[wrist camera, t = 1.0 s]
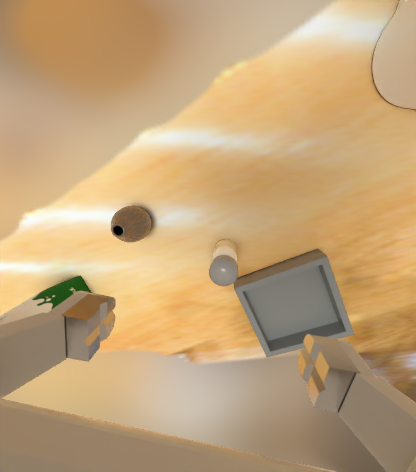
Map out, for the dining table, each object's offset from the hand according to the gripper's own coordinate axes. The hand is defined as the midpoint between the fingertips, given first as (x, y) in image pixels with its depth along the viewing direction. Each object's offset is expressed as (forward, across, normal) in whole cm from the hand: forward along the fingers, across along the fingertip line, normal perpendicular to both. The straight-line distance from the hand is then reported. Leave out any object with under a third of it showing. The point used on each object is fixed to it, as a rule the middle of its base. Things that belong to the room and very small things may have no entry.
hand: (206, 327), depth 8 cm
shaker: (+33, -2, +7) cm, 34 cm away
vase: (+34, +17, +4) cm, 38 cm away
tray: (+33, -17, +16) cm, 41 cm away
